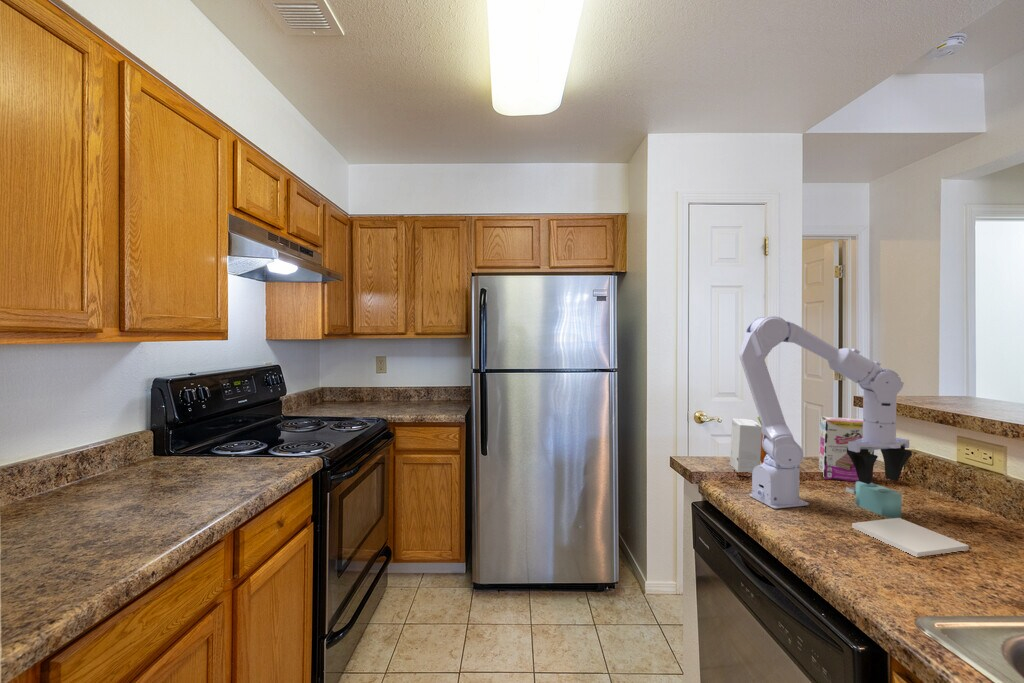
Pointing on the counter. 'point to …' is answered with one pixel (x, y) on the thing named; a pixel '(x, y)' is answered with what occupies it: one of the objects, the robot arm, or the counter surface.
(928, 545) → the tile
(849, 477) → the candy bar box
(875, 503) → the plug block
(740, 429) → the skincare box
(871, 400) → the robot arm
